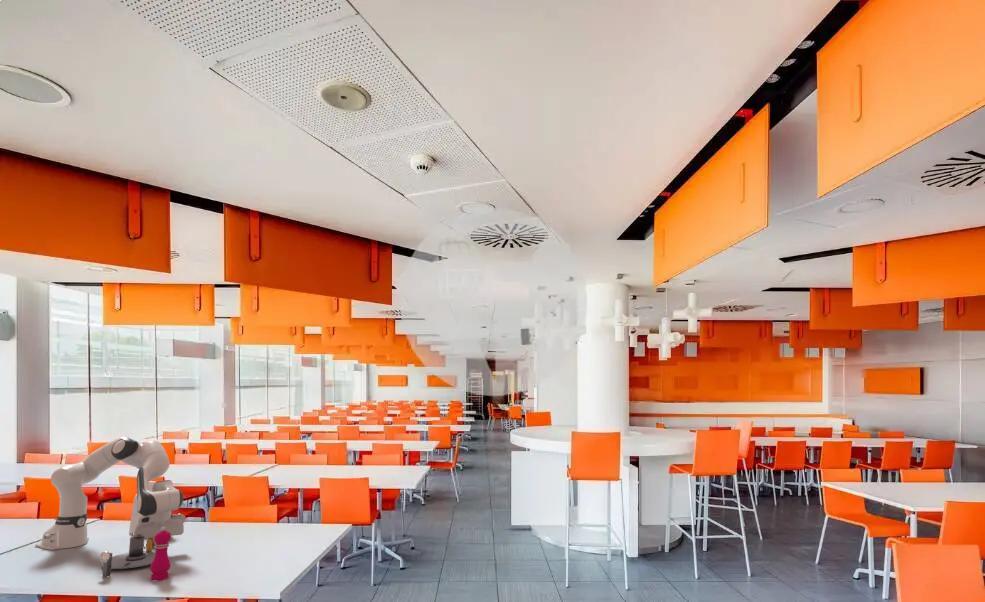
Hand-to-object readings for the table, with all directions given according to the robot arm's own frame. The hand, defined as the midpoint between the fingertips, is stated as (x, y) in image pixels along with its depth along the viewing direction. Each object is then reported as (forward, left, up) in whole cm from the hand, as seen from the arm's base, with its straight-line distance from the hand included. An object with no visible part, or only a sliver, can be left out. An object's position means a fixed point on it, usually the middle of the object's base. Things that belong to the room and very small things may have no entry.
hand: (158, 547), depth 266 cm
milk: (-40, +32, -4) cm, 51 cm away
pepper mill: (+27, -26, -4) cm, 38 cm away
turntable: (0, -13, -2) cm, 13 cm away
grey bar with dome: (+4, -30, -3) cm, 30 cm away
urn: (+1, -13, -1) cm, 13 cm away
